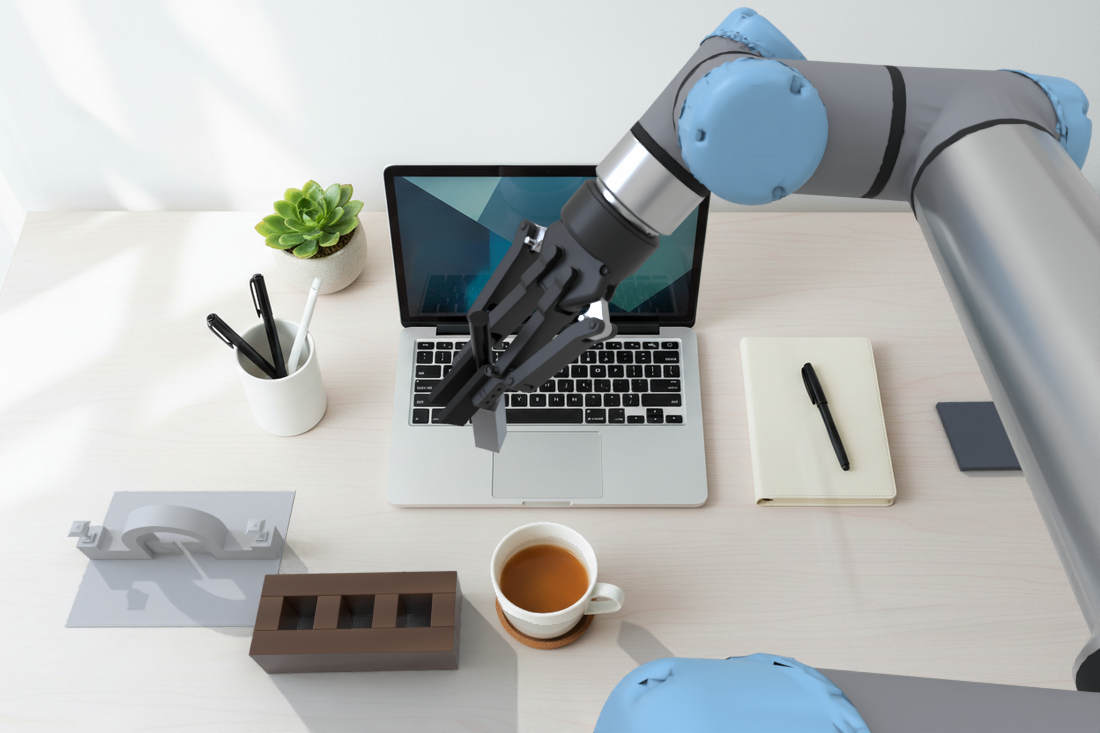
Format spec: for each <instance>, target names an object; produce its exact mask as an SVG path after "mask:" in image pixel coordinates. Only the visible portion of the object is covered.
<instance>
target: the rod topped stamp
mask: <svg viewBox="0 0 1100 733" xmlns="http://www.w3.org/2000/svg"><path fill="white" fill-rule="evenodd" d="M486 312H487V311H485V312H484V311H475V312H473V313H471V314H470V316H469V321H468V326H469V333H470V339H471V343H472V352H473V360H474V369H475V373H476V372H477V371H478V370H479V369H480V368H481V367H482V365H483V364H484V365H486V364H488V365H492V366H493V365H494V362H493V355H492V351H493V347H492V343H491V331H490V320H489V315H488V314H487V313H486ZM471 424H472V432H473V438H474V439H473V440H474V447H475V448H478V449H481V450H485V451H489V452H493V453H496V454H500V452H501V449H502V447H503V444H504V442H505V440H506V437H507V434H508V427H507V414H506V399H505V391H504V392H503V394H502V395H501V396H500V397H499V398H497V400H496V401H495V402H494V403H493V404H492V405H491V406H490V407H488V408H482V407H481V408H480V409H479V410H478V411H477V412H476V413H475V414H474V415H473V416H472V417H471Z"/></svg>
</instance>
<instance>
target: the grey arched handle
mask: <svg viewBox="0 0 1100 733" xmlns="http://www.w3.org/2000/svg"><path fill="white" fill-rule="evenodd" d="M91 522H92V520H73V521H72V524H71V526H70V529H69V531H68V532H67V533H68V534H67V535H66V538H78V540H77V543H76V545H75V548H76V549H77V550H79V551H80V552H81V553H82V554H83V555H84V556H85V557H87V558H88V559H89V560H90V561H92V560H153V559H154V556H155V555H174V554H183V553H184V551H183V549H182V548H181V547H180V546H179V545H178V544H177V543H176V542H175V541H174V540H160V538H159V537H158V536H157V535H156V534H155V533H167V534H175V535H181V536H186V537H189V538H193V539H181V540H180V541H179V543H180V544H181V545H182V546H183V547H184V548H185V550H186V551H187V552H188V553H189V554H212V555H213V556H214V558H215V559H216V560H279V559H280V558H281V559H282V556H283V551H284V545H285V541H286V537H285V538H284V537H283V536H282V534H281V533H280V531H279V529H278V528H277V526H276V525H275V524H266V522H267V519H266V518H249V519H248V520H247V524H246V528H234V529H228V527H227V526H226V525H225V523H224V522H223V521H222V520H221V519H220V518H218V517H217V516H215V515H213V514H211V513H209V512H206V511H204V510H200V509H197V508H193V507H189V506H183V505H177V504H165V503H159V504H148V505H144V506H140V507H137V508H135V509H133V510H132V511H131V512H130V513H129V514H128V516H127V519H126V522H125V525H124V528H123V529H108V528H106V527H105V526H104V525H91Z"/></svg>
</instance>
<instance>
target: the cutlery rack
mask: <svg viewBox="0 0 1100 733" xmlns="http://www.w3.org/2000/svg"><path fill="white" fill-rule="evenodd" d="M459 578H460V577H459V573H458V570H432V571H431V570H430V571H429V570H427V571H377V572H375V571H374V572H335V573H334V572H326V573H324V572H323V573H321V572H320V573H278V574H266V575H265V578H264V583H263V587H262V592H261V597H260V602H259V607H258V612H257V617H256V621H255V626H253V631H252V632H253V633H252V635H251V636H252V637H251V642H250V646H249V651H248V657H250V658H251V659H252V660H253V662H255V663H256V664H257V665H258V666H259V667H260V668H261V669H262V670H263V671H264V672H265V673H266V674H268V675H272V674H275V675H279V674H280V675H281V674H315V673H317V674H319V673H321V674H322V673H323V674H325V673H363V672H366V673H367V672H369V673H371V672H408V671H410V672H411V671H412V672H414V671H416V672H417V671H455V670H459V668H460V650H461V649H460V648H461V647H460V646H461V645H460V644H461V626H462V625H461V624H462V623H461V622H462V605H463V604H462V603H463V592H462V587H461V583H460V579H459ZM408 616H430V626H425V627H424V626H423V627H422V626H421V627H420V626H419V627H407V625H408ZM354 617H372V623H371V628H370V627H367V628H353V623H354ZM300 618H314V620H313V626H312V629H299V623H300Z"/></svg>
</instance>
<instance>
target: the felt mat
mask: <svg viewBox="0 0 1100 733" xmlns="http://www.w3.org/2000/svg"><path fill="white" fill-rule="evenodd" d="M935 409H936V411H937V414H938V417H939V419H940V421H941V423H942V427H943V428H944V431H945V435H946V437H947V439H948V442H949V444H950V447H951V450H952V453H953V455H954V457H955V460H956V464H957V465H958V468H959V470H960V471H961V472H970V471H971V472H974V471H976V472H978V471H979V472H980V471H982V472H983V471H1022V468H1021V466H1020V464H1019V461H1018V459H1017V457H1016V454H1015V452H1014V449H1013V447H1012V445H1011V442H1010V440H1009V438H1008V435H1007V433H1006V430H1005V428H1004V426H1003V423H1002V421H1001V418H1000V416H999V414H998V411H997V409H996V407H995V404H994V402H993V400H992V401H991V400H988V401H986V400H985V401H940V402H939V401H937V403H936V404H935Z"/></svg>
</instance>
